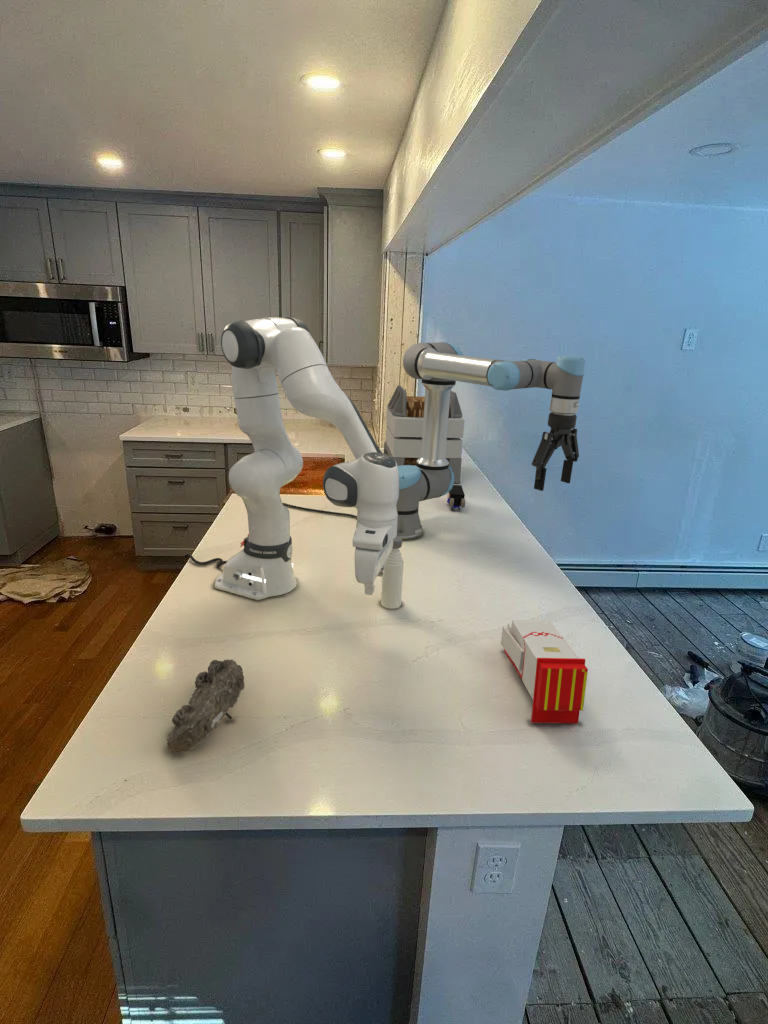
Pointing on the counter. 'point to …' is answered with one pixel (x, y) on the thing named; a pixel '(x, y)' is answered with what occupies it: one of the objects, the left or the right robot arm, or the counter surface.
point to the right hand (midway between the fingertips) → (552, 485)
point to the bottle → (392, 580)
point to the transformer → (420, 430)
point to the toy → (547, 670)
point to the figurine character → (456, 497)
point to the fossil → (206, 705)
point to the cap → (397, 542)
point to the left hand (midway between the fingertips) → (374, 584)
